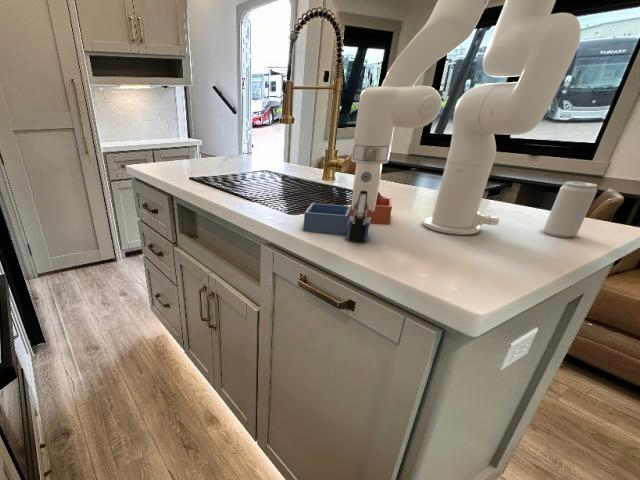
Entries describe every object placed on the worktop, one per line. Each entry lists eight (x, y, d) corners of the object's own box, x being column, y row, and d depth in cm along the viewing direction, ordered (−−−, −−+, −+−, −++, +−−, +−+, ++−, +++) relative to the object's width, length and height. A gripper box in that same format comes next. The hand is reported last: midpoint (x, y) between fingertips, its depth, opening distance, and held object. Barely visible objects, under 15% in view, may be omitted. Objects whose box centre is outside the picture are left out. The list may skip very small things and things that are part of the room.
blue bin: (348, 223, 95) (351, 206, 93) (344, 234, 87) (347, 216, 84) (310, 219, 98) (311, 203, 96) (303, 230, 90) (304, 212, 87)
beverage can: (570, 232, 88) (593, 181, 83) (579, 239, 83) (604, 186, 77) (539, 228, 91) (559, 179, 85) (546, 236, 86) (568, 184, 80)
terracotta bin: (388, 214, 103) (391, 198, 101) (388, 224, 94) (392, 206, 92) (351, 211, 106) (354, 195, 104) (348, 220, 97) (351, 203, 95)
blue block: (367, 236, 86) (370, 217, 84) (366, 242, 82) (369, 222, 80) (347, 234, 87) (350, 215, 85) (346, 239, 83) (349, 220, 81)
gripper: (389, 160, 68) (372, 251, 76) (388, 151, 82) (374, 228, 90) (348, 158, 70) (336, 247, 79) (354, 149, 84) (344, 225, 93)
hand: (357, 236), depth 84 cm, fingers closed on blue block, 4 cm apart
